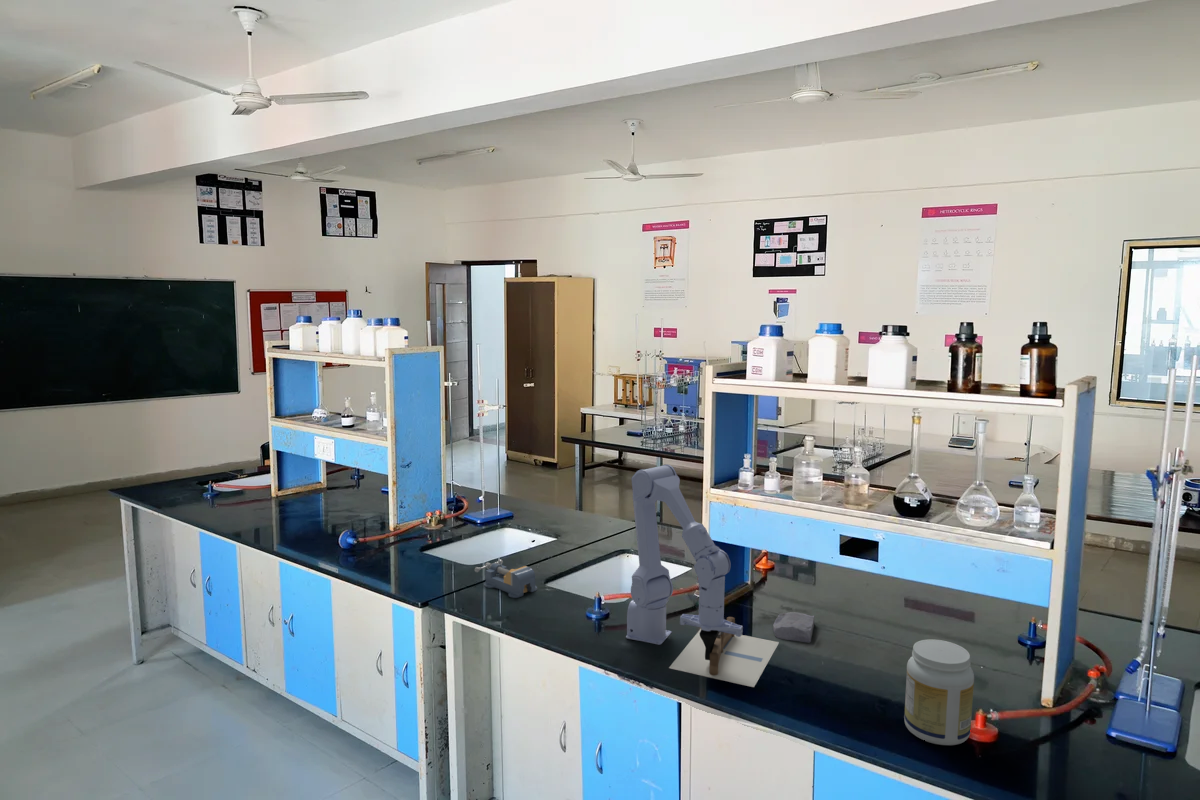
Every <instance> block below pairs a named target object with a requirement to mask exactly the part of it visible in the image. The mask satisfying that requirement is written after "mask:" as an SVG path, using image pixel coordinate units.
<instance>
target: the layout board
mask: <svg viewBox="0 0 1200 800" xmlns="http://www.w3.org/2000/svg"><path fill="white" fill-rule="evenodd" d="M700 631H701V628H699V630H698V631H697V632H696V634H695V635H694V636H693V638H691V640H690V641H689V642H688V644H687V645H686V646H685V648H684V649H683V650H682V651H681V652H680V654H679V655H678V656H677V657H676V658H675V660H674V661H673V662H672V663H671V665H670V666H669V667H668V669H671V670H676V671H679V672H684V673H688V674H693V675H698V676H701V677H706V678H710V679H714V680H719V681H725V682H729V683H733V684H737V685H742V686H747V687H751V688H755V686H756V685H757V683H758V681H759V679H760V677H761V676H762V674H763V672H764V671H765V668H766V666H767V665H768V663H769V662H770V660H771V658H772V656H773V655H774V653H775V651H776V649H777V647H778V645H779V644H780V642H779V641H775V640H770V639H765V638H764V639H763V638H760V637H755V636H750V635H746V634H745V635H743V634H742V635H741V636H740V637H737V636H736V635H734V637H731V638H730V640H729V641H728V643H727V644H726V646H725V647H724V648H723V653H721V656H720V660H719V664H718V674H717V675H711V674H710V673H709V666H710V661H709V660H705V645H704V643H703V641H702V639H701V637H700Z"/></svg>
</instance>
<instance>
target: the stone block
mask: <svg viewBox="0 0 1200 800" xmlns="http://www.w3.org/2000/svg"><path fill="white" fill-rule="evenodd" d="M772 627H773V634H774V636H775V638H777V639H781V640H786V641H787V640H788V641H797V642H802V643H811V642H812V636H813V632H814V628H815V615H809V614H806V613H803V612H797V611H796V612H794V611H791V612H790V611H789V612H782V613H779V614H778V615H777V617H776V619H775V620H774V622H773V625H772Z"/></svg>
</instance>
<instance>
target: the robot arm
mask: <svg viewBox="0 0 1200 800" xmlns="http://www.w3.org/2000/svg"><path fill="white" fill-rule="evenodd" d="M680 479H681V478H680V476H678V474H677V472H676V470H675V468H674V467H673V466H672V465H670V464H666V463H665V464H662V465H660V466H659V465H658V466H655V467H649V468H646V469H645V468H644V469H643V468H642V469H639V470H636V472H635V473H634V474H633V475H632V477H631V486H632V503H633V513H634V521H635V533H636V534H635V535H636V542H637V553H638V554H637V555H638V563H639V566H638V568H636V570H635V571H634V573H633V574H632V576H631V586H630V595H631V599H632V600H630V601H629V604H628V607H627V613H626V636H625V638H626V639H628V640H633V641H640V642H644V643H648V644H649V643H650V644H652V645H653V644H655V645H660V646H661V645H662V644H663V643H664V642H665V641H666V639H667V638H668V637H669V636H670V635H671V634H672V632H673V631H671V630H667V603H668V602H669V598H670V597H671V596H672V595H673V593H674V586H673V585H674V584H673V582H672V580H671V577H670V570H669V569H668V568H667V567H665V566H664V565H662V561H661V558H662V557H661V549H660V541H659V540H660V539H659V529H658V520H657V518H658V517H657V510H656V509H657V508H656V502H663V503H665V504H666V506H667V507H668V509H669V510H670V511H671V514H673V516H674V518H675V519H676V521H677V522H678V523H679V525H680V527H681V529H682V533H681V537H682V539H683V541H684V543H685V545H686V546H687V548H688V549H689V553H690V554H691V555H692V557H693V559H694V561H695V562H696V563H695V564H694V566H693V567H694V572H695V574H696V577H697V583H698V586H699V590H698V593H699V594H698V614H686V613H682V614H681V615H680V617H679V625H680V626H685V625H688V626H691V627H692V626H693V627H697V628H700V629H701V631H700V637H701V639H702V641H703V643H704V645H705V660H709V661H710V653H712V650H713V646H714V643H715V640H716V638H717V636H718V634H719V632H725V633H729V634H734V635H736V636H737V637H740V636H741V635H743V632H744V631H743V629H744V627H743V625H740V624H737V623H735V624H734V623H732V622H729V621H727V619H725V617H724V616H725V615H724V614H725V589H726V588H725V586H726V584H725V583H726V581H725V580H726V575H727V574H728V573H730V571H731V567H732V566H731V560H730V557H729V555H728V553H727V552H725V551H724V550H723V549H721V548H720V546H718V545H716V544H715V543H714V540H713V539H712V538H711V536H710V534H709V533H708V530H707V528H706V527H705V525H704V524H703V523H701V522H697V521H696V520H695V518H694V516H693V513H692V512H691V509H690V507H689V506H688V503H687V501H686V500H685V497H684V495H683V493H682V490H681V489H680V482H681V480H680Z"/></svg>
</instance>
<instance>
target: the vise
mask: <svg viewBox="0 0 1200 800" xmlns="http://www.w3.org/2000/svg"><path fill="white" fill-rule="evenodd" d="M484 569H486V570H485V582H484V583H483V585H484V587H485V588H490V589H494V588H495V589H498V590H501V591H503V592H505V593H507V594H508V597H510V598H513V599H517V598H520V597H523V596H524V593H528V592H530V593H533V592H536V591H537V590H538V586H537V585H536V573H535V571H534V569H533V568H531V566H527V565H524V566H521V567H517V568H511V569H508V567H507V566H505V565H503V560H502V559H501V558H500V559H498V560H497V561H495V562H493V563H490V562H485V564H484V566H483V565H482V566H481V567H478V566H475V568H474V572H475V573H479V572H480V570H484Z"/></svg>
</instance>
